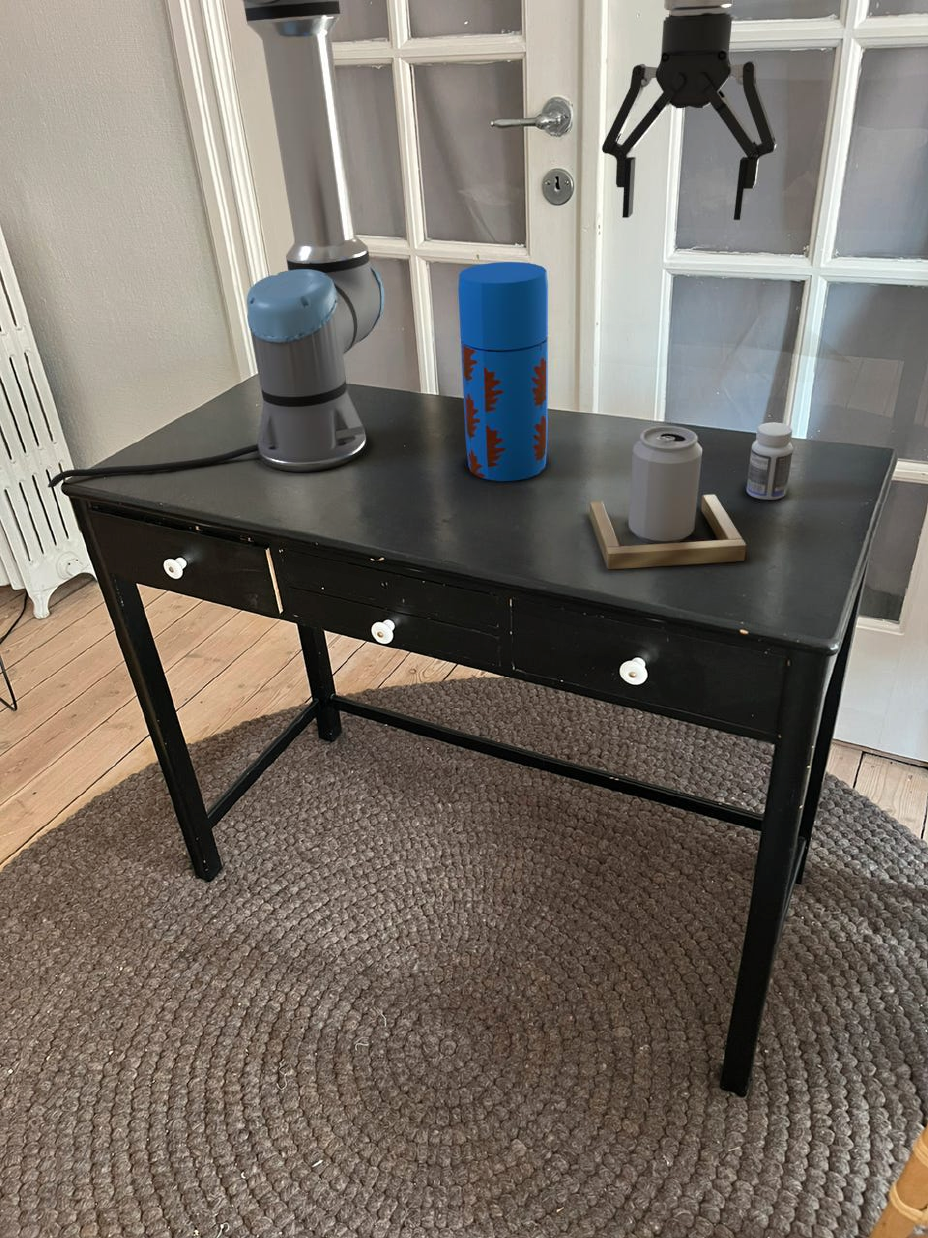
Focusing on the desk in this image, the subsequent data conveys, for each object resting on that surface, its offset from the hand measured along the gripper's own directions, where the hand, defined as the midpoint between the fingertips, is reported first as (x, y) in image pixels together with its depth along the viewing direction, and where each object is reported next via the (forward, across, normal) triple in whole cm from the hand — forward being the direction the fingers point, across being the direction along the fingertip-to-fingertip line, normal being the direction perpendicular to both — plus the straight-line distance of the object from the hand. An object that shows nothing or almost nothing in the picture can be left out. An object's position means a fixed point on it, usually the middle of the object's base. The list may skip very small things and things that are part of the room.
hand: (681, 216), depth 114 cm
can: (+29, +5, -29) cm, 41 cm away
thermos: (+29, -18, -15) cm, 38 cm away
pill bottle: (+29, +15, -15) cm, 36 cm away
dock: (+29, +5, -29) cm, 41 cm away
